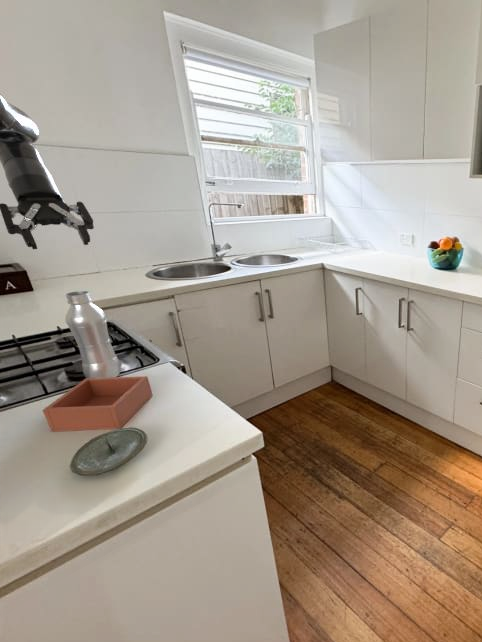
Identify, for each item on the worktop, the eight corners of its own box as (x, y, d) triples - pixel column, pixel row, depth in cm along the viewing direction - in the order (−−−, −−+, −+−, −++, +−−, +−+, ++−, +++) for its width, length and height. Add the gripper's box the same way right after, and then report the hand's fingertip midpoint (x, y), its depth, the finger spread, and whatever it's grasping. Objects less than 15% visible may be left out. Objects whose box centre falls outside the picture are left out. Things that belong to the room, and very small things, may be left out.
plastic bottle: (85, 377, 86) (54, 292, 78) (121, 368, 90) (96, 287, 82) (88, 388, 82) (56, 300, 74) (126, 379, 86) (99, 294, 78)
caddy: (51, 431, 68) (42, 410, 67) (93, 397, 79) (86, 378, 77) (121, 428, 70) (113, 407, 68) (152, 395, 80) (147, 376, 79)
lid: (163, 447, 68) (159, 420, 67) (123, 475, 58) (118, 444, 57) (102, 450, 67) (98, 423, 66) (52, 478, 57) (46, 447, 57)
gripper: (-18, 171, 77) (12, 236, 74) (73, 173, 87) (101, 230, 84) (-9, 198, 82) (19, 259, 80) (75, 196, 92) (102, 251, 90)
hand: (61, 244), depth 82 cm, fingers open, 8 cm apart
